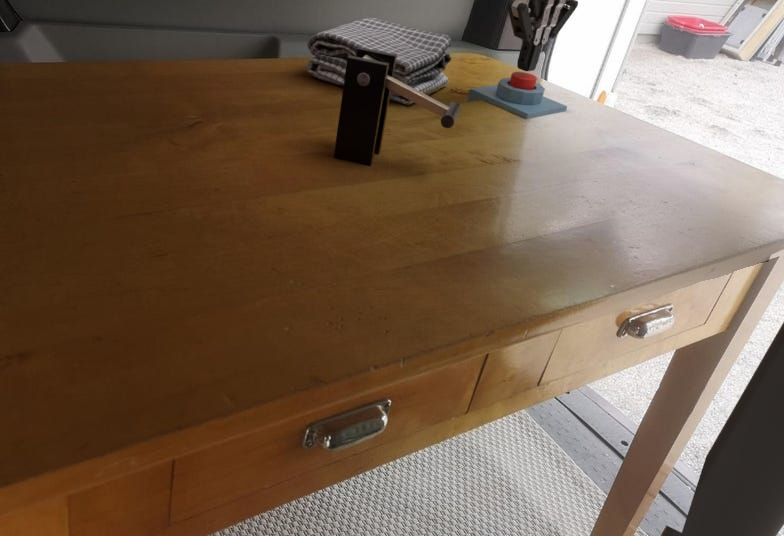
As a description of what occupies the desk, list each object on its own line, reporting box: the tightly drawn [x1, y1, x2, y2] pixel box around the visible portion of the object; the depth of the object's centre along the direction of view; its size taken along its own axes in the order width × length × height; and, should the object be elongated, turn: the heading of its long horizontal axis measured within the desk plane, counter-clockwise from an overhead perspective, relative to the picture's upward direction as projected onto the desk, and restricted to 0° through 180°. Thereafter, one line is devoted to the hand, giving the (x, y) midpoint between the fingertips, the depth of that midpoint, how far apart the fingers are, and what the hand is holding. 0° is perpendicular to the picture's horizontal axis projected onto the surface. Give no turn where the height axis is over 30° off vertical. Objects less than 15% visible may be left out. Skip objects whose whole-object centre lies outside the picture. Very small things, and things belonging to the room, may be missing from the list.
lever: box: [363, 55, 462, 129], centre depth 84 cm, size 12×5×2 cm, turn 72°
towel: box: [305, 17, 452, 106], centre depth 115 cm, size 15×18×8 cm
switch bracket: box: [333, 47, 397, 167], centre depth 86 cm, size 12×9×13 cm
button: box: [509, 71, 538, 90], centre depth 110 cm, size 4×4×2 cm
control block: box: [467, 77, 568, 120], centre depth 112 cm, size 11×9×4 cm
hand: (525, 69), depth 109 cm, fingers closed
